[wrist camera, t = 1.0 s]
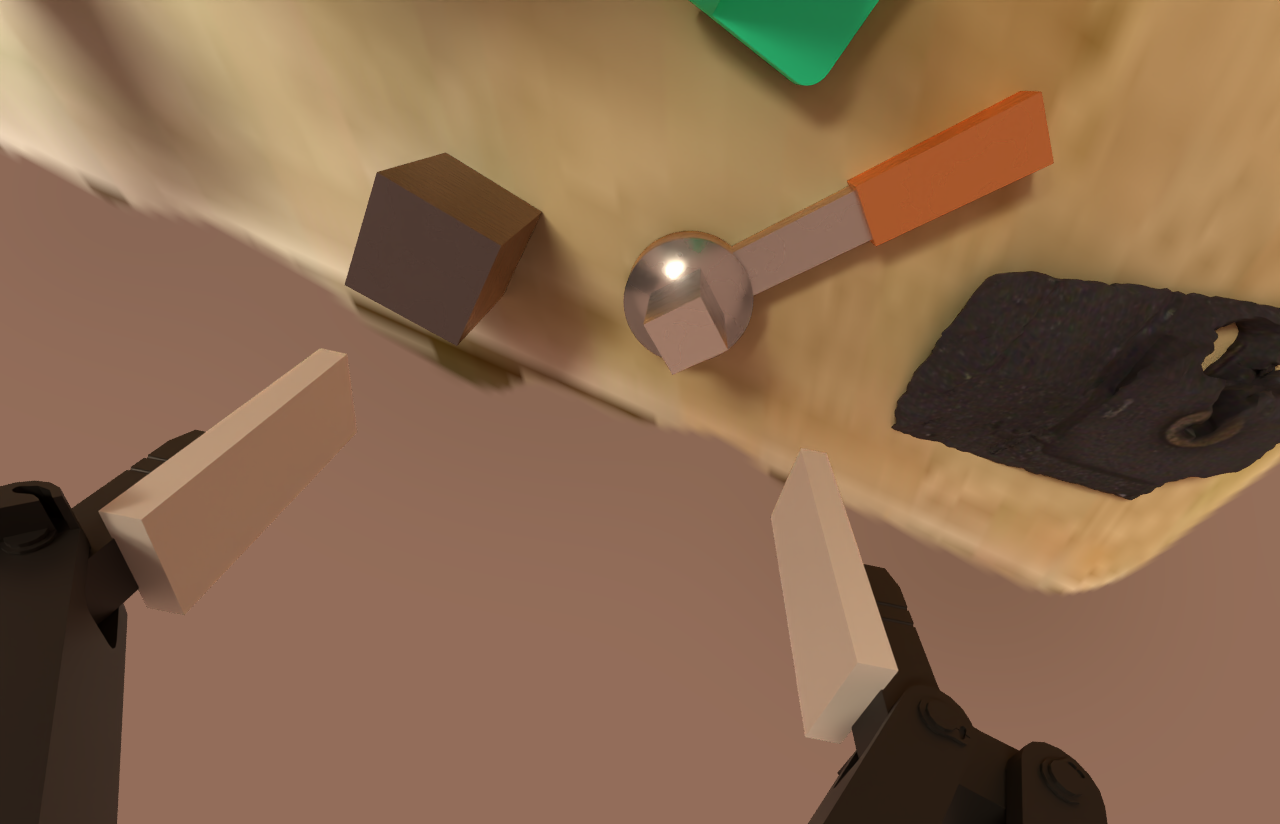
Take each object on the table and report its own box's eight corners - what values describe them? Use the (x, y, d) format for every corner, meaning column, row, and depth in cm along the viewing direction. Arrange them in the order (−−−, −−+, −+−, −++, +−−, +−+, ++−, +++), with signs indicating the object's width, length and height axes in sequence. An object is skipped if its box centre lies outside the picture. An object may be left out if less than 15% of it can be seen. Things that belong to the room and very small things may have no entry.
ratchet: (663, 367, 38) (656, 420, 32) (604, 268, 35) (585, 307, 29) (1040, 195, 30) (1123, 224, 24) (1012, 45, 27) (1100, 36, 21)
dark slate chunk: (993, 218, 31) (1036, 238, 27) (1333, 318, 32) (1423, 352, 28) (870, 427, 39) (889, 466, 35) (1145, 502, 41) (1194, 548, 37)
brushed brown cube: (413, 245, 35) (344, 284, 28) (445, 152, 32) (376, 172, 25) (502, 296, 36) (456, 345, 30) (541, 212, 33) (501, 245, 26)
